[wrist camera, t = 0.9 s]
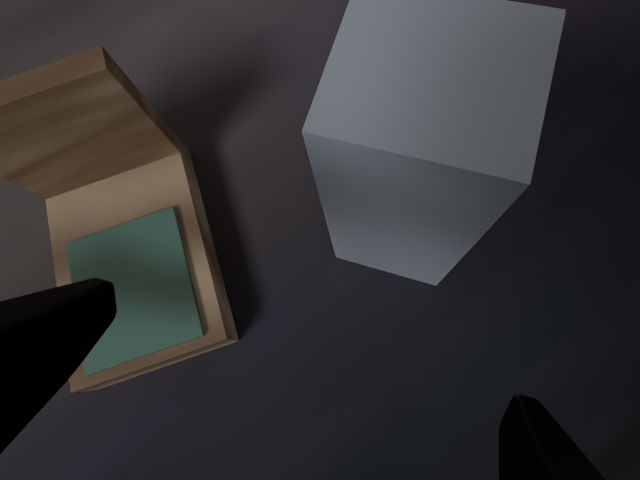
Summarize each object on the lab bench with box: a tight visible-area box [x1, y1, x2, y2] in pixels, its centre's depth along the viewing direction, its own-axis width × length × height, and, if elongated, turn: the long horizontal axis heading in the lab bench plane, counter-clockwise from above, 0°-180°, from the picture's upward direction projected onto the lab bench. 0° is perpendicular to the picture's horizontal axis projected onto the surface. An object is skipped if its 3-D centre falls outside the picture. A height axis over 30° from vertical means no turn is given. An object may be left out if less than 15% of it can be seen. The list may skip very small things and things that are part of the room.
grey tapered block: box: [302, 0, 566, 286], centre depth 17 cm, size 5×6×13 cm
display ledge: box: [0, 46, 239, 393], centre depth 20 cm, size 12×8×9 cm, turn 18°
